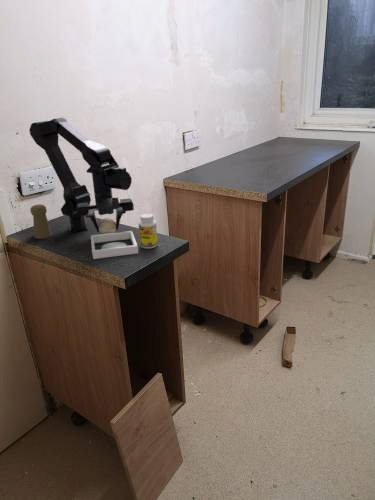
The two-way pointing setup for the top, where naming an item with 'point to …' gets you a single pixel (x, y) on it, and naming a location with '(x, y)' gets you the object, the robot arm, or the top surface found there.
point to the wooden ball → (107, 226)
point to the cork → (40, 222)
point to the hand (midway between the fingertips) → (107, 230)
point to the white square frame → (113, 245)
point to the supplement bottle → (148, 231)
